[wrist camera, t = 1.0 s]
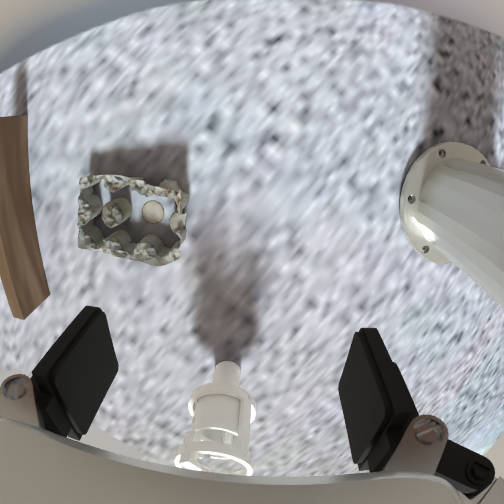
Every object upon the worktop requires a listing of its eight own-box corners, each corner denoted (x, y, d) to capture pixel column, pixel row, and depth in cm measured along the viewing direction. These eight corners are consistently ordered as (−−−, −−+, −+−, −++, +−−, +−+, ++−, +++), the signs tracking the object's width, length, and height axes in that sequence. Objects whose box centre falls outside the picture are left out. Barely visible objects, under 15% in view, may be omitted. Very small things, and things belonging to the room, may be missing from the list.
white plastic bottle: (231, 338, 33) (214, 455, 19) (269, 375, 35) (268, 485, 21) (187, 363, 35) (156, 468, 21) (224, 395, 37) (210, 496, 23)
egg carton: (195, 181, 27) (184, 189, 23) (185, 256, 30) (174, 275, 26) (94, 165, 27) (71, 172, 23) (91, 236, 29) (71, 251, 26)
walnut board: (27, 115, 24) (-10, 118, 18) (50, 294, 32) (24, 319, 27) (16, 118, 24) (-20, 122, 18) (39, 292, 32) (13, 316, 27)
